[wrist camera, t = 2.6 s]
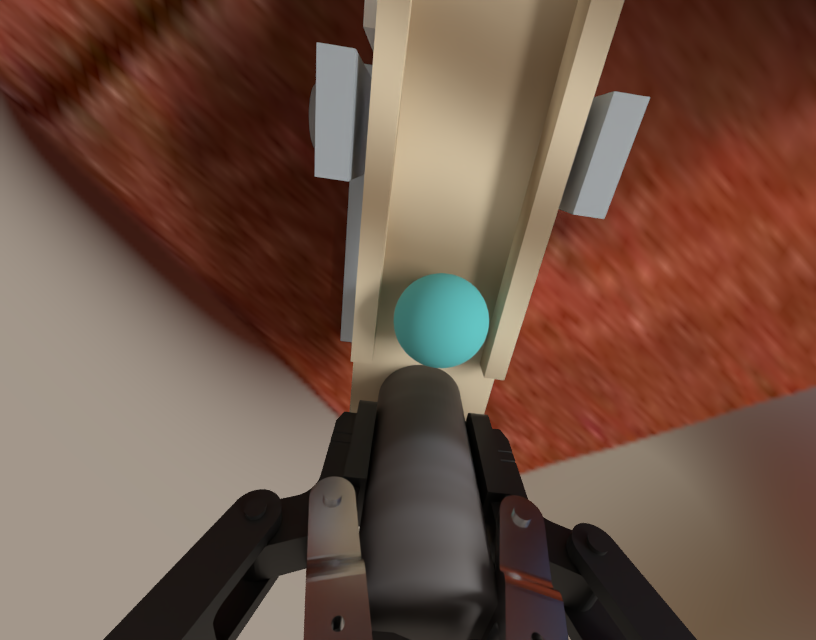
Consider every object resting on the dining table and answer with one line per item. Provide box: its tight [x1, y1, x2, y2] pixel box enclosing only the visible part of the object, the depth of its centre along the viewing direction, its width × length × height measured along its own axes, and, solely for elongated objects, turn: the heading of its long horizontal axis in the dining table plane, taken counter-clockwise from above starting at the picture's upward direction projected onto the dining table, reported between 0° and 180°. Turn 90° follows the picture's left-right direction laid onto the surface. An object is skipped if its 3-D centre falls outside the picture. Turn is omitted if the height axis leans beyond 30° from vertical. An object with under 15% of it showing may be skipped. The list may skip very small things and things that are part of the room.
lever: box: [350, 0, 624, 640], centre depth 9 cm, size 17×6×9 cm, turn 172°
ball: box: [394, 273, 489, 368], centre depth 12 cm, size 3×3×3 cm
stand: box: [309, 42, 650, 342], centre depth 16 cm, size 15×10×9 cm, turn 172°
